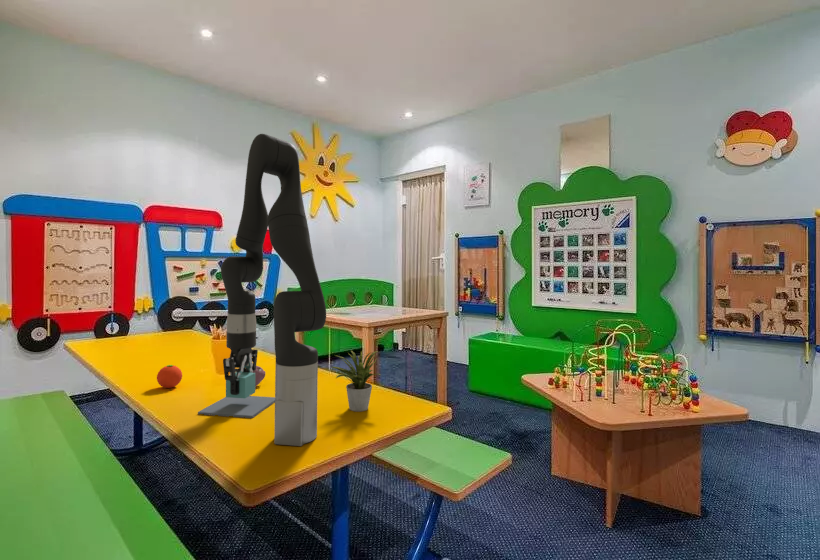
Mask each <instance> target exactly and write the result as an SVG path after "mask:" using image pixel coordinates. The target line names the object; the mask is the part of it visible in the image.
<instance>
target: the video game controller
mask: <svg viewBox="0 0 820 560" xmlns="http://www.w3.org/2000/svg"><path fill="white" fill-rule="evenodd" d="M253 373H255V388H256V387H258V385H259V384H260V383H261V382H262V381H263V380H264V379H265V377H266V371H265V370H264V369H263V367H261V366H259V365H256V370H255V371H253Z"/></svg>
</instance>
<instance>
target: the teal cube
mask: <svg viewBox="0 0 820 560" xmlns="http://www.w3.org/2000/svg"><path fill="white" fill-rule="evenodd" d="M235 373H236V375H237V372H235ZM255 393H256V387H255V373H249V372H241V374H240V379H239V394H238V395H232V394H231V393H230V381H229V380H225V397H230V398H247V397H248V396H253V394H255Z"/></svg>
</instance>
